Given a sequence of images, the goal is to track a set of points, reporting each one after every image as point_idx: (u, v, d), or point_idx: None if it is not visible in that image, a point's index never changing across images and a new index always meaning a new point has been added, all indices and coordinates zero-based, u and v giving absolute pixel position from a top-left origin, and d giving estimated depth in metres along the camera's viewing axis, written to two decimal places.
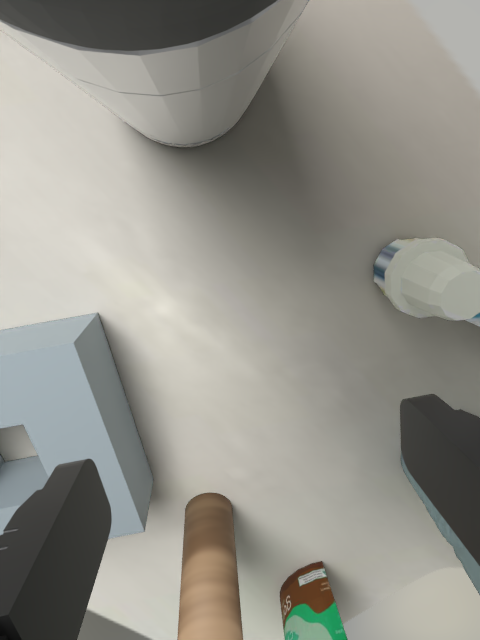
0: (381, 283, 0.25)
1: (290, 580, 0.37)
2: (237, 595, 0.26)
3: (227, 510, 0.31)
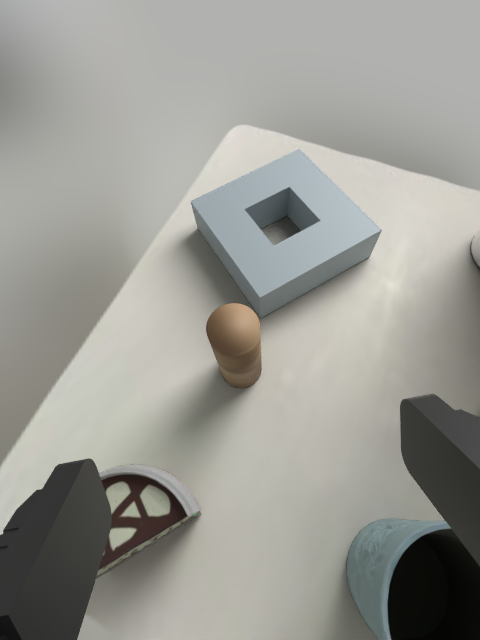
0: None
1: None
2: (253, 357, 0.31)
3: (258, 373, 0.37)
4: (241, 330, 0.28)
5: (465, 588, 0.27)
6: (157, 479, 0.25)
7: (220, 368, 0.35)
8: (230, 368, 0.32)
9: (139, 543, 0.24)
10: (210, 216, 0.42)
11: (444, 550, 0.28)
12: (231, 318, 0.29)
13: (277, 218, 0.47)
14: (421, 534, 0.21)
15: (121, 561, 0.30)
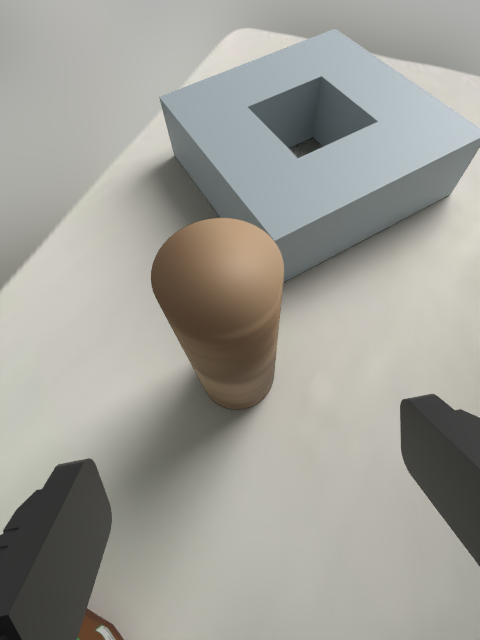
0: None
1: (85, 612, 0.16)
2: (263, 346, 0.13)
3: (269, 383, 0.20)
4: (238, 276, 0.11)
5: None
6: None
7: None
8: (213, 372, 0.15)
9: None
10: (190, 117, 0.25)
11: None
12: (212, 249, 0.12)
13: (298, 140, 0.30)
14: None
15: None
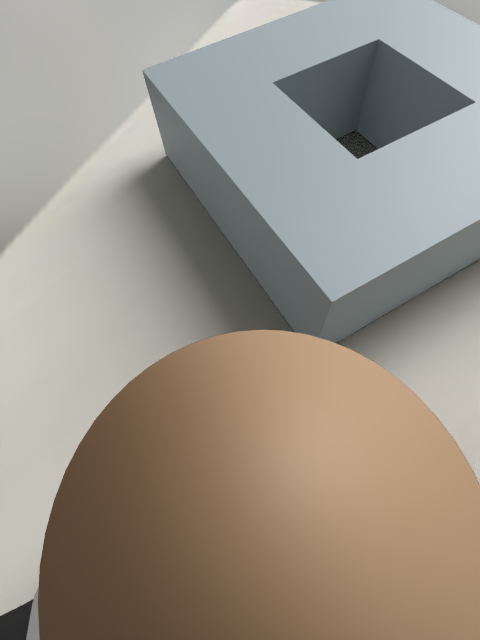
0: None
1: None
2: None
3: None
4: (343, 576, 0.03)
5: None
6: None
7: None
8: None
9: None
10: (187, 97, 0.17)
11: None
12: (247, 449, 0.04)
13: (336, 133, 0.22)
14: None
15: None
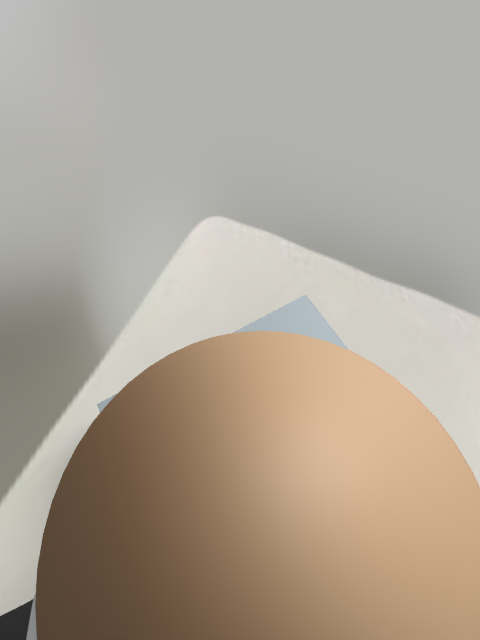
0: None
1: None
2: None
3: None
4: (341, 579, 0.03)
5: None
6: None
7: None
8: None
9: None
10: None
11: None
12: (245, 450, 0.04)
13: None
14: None
15: None
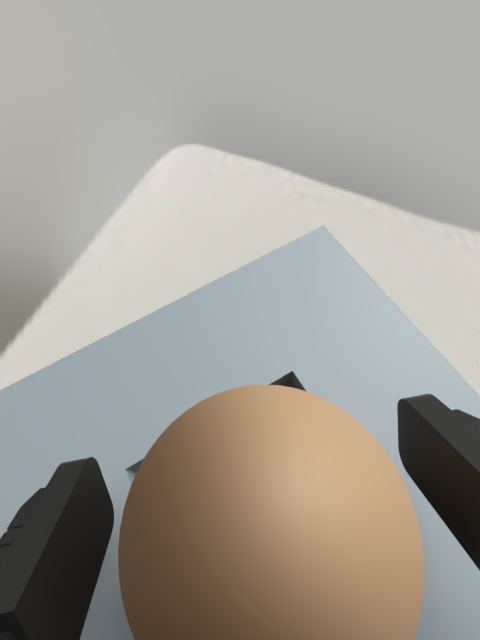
0: None
1: None
2: None
3: None
4: (318, 557, 0.05)
5: None
6: None
7: None
8: None
9: None
10: None
11: None
12: (255, 472, 0.06)
13: None
14: None
15: None
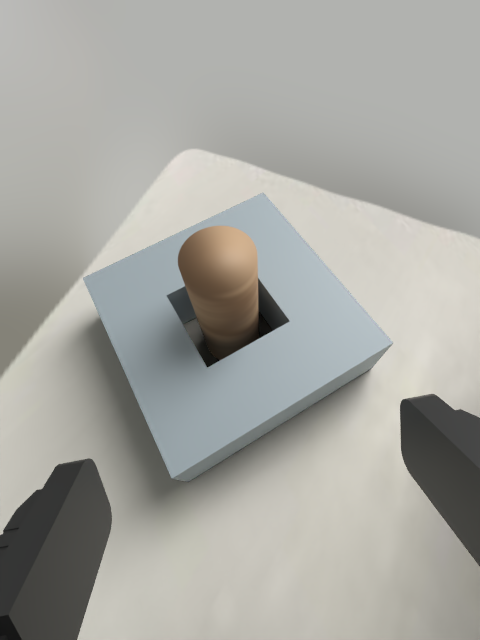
0: None
1: None
2: (247, 307, 0.21)
3: None
4: (230, 261, 0.19)
5: None
6: None
7: (202, 331, 0.25)
8: (215, 325, 0.22)
9: None
10: (109, 307, 0.25)
11: None
12: (214, 245, 0.20)
13: None
14: None
15: None
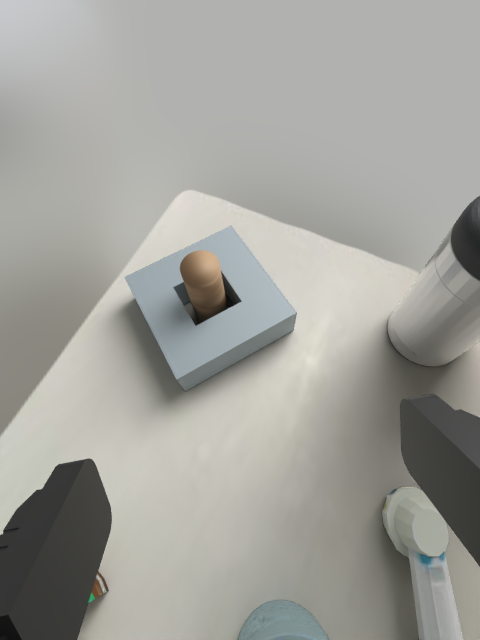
0: (390, 497, 0.36)
1: None
2: (216, 292, 0.40)
3: None
4: (206, 268, 0.38)
5: None
6: None
7: (193, 307, 0.44)
8: (199, 303, 0.41)
9: None
10: (140, 293, 0.44)
11: None
12: (198, 260, 0.39)
13: None
14: None
15: None
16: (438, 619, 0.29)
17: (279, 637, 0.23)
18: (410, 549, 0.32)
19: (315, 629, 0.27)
